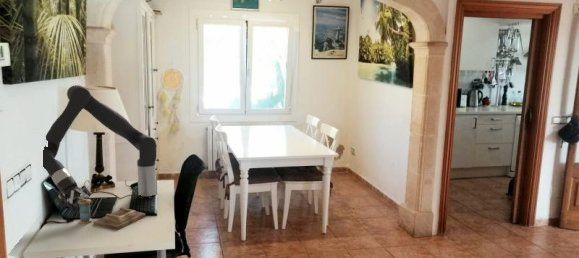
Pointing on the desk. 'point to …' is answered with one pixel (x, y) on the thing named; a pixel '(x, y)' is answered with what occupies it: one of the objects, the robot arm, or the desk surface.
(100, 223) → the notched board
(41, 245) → the desk surface
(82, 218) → the bobbin
